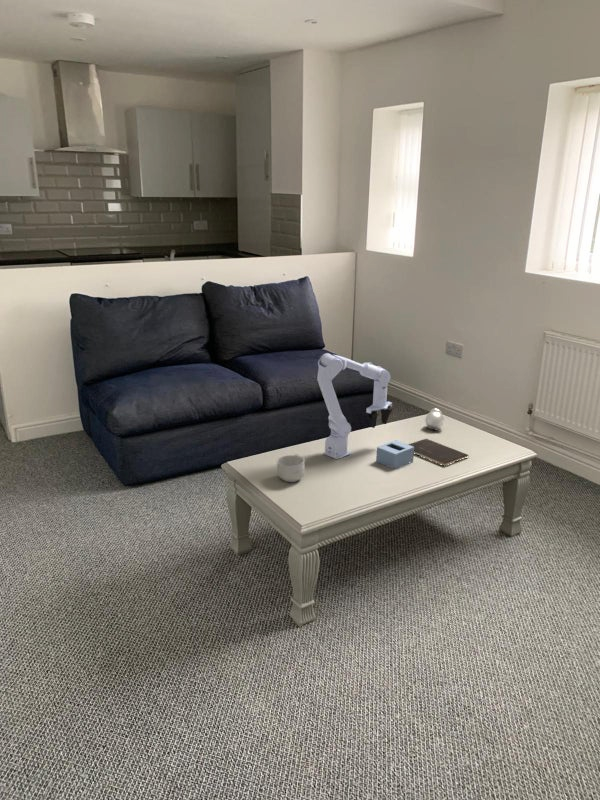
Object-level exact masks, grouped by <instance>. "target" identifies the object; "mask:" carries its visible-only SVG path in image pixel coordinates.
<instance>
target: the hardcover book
mask: <svg viewBox="0 0 600 800" xmlns="http://www.w3.org/2000/svg"><path fill="white" fill-rule="evenodd" d="M408 445H410V446H413V447H414V453H415V454H417V455H420V456H422V457H425V458H427V459H430V460H432V461H434V462H437V463H439V464H442V465H444V466H445V465H448V464H450V463H453V462H455V461H457V460H460V459H462V458H465V457H467V456H468V457H469V454H467V453H464V452H462V451H459V450H457V449H454V448H451V447H449V446H447V445H444V444H441V443H438V442H436V441H434V440H431V439H429V438H424V439H421V440H416V441H414V442H412V443H409V444H408ZM415 454H414V455H415ZM417 455H416V456H417ZM420 456H419V457H420ZM422 457H421V458H422ZM425 458H424V459H425ZM427 459H426V460H427ZM432 461H431V462H432ZM434 462H433V463H434ZM437 463H436V464H437ZM439 464H438V465H439ZM453 464H454V463H453ZM450 465H451V464H450ZM444 466H443V467H444ZM448 466H449V465H448ZM445 467H446V466H445Z"/></svg>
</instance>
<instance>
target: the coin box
mask: <svg viewBox="0 0 600 800" xmlns="http://www.w3.org/2000/svg"><path fill="white" fill-rule="evenodd" d="M393 448H394V449H393ZM414 455H415V454H414V447H413V446H410V445H408V444H407V443H404V442H402V441H399V440H392V441H390V442H387V443H384V444H382V445H379V446H377V447H376V459H375V460H376V463H380V464H381V465H384V466H387V467H389V468H391V469H394V470H395V469H398V468H400V467H402V466H405V464H406V465H407V463H408V464H410V463H412V461H413V462H414ZM409 462H410V463H409Z"/></svg>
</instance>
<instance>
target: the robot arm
mask: <svg viewBox="0 0 600 800" xmlns="http://www.w3.org/2000/svg"><path fill="white" fill-rule="evenodd" d="M317 365H318V370H317V378H316V379H317V383H318V386H319V389H320V391H321V394H322V397H323V399H324V400H323V401H324V402H325V405H326V409H327V411H328V414H329V415H328V417H327V418H328V427H329V429H330V435H329V436H328V437H326V439H325V440H324V441H325V442H324V452H323V455H325V456H328V457H330V458H333V459H335V460H338V459H341V458H343V457H347V456H349V455H352V452H351V451H349V450H348V445H349V444H348V442H349V435H350V434H351V431H352V426H351V423H349V422H348V421H347V418H346V416H344V414H343V412H342V409H341V406H340V403H339V400H338V397H337V394H336V391H335V389H334V386H333V382H332V381H333V379H334V378H335V377H336V376H337V375H338V374H340V372H341V371H344V370H345V369H346V368H348V369H350V370H354V371H357V372H359V375H361V376H362V377H365V378H368V379H371V380H372V381H373V380H374V381H373V396H372V397H373V398H372V404H371V405H369V407H366V411H365V414H366V416H367V420H368V421H369V427H370V428H372V429H374V428H376V423H377V418H378V416H379V413H377V411H379V410H380V413H381V417H380V418H381V424H384V425H387V423H388V419H389V418H390V417H389V416H390V415H391V413H392V411H393V402H391V401H387V398H388V397H387V396H388V386H389V381H390V380H391V379H392V376H391V375H390V372H389V371H388V370H387V369H385V368H383V367H381V366H380V365H377V366H376V365H374V364H373V363H372V362H371V361H370V362H369V361H368V362H363V363H360V362H357V361H354V360H353V359H350V358H347V357H344V356H341V355H336V354H331V353H328V352H326V353H324V354H322V355H321V356H320V358H319V360H318V361H317Z"/></svg>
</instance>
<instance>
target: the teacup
mask: <svg viewBox="0 0 600 800" xmlns="http://www.w3.org/2000/svg"><path fill="white" fill-rule="evenodd" d="M276 465H277V468H276V469H277V474H278V477H279V478H280V479H281V480H283V481H284V482H287V483H288V482H289V483H295V482H297V481H299V480H300V479H302V478H303V477H304V475H305V471H306V470H305V469H306V468H305V467H306V466H305V458H304V457H303V456H300V454H298V453H295V454H294V455H293V454H291V455H290V454H289V455H284V456H281V457H279V458H278V459H277V460H276Z"/></svg>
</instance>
